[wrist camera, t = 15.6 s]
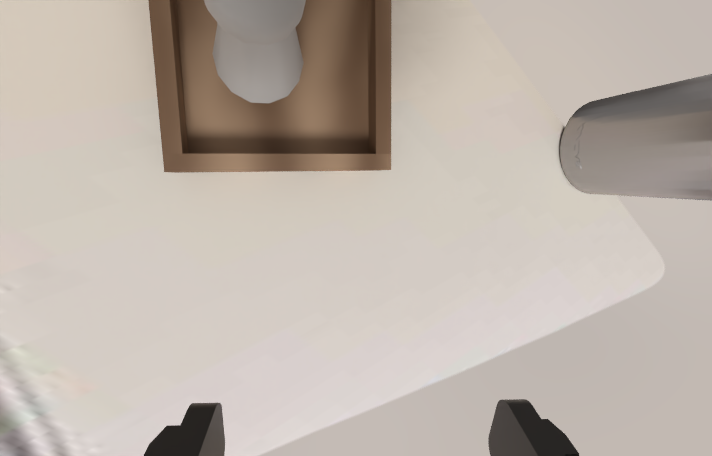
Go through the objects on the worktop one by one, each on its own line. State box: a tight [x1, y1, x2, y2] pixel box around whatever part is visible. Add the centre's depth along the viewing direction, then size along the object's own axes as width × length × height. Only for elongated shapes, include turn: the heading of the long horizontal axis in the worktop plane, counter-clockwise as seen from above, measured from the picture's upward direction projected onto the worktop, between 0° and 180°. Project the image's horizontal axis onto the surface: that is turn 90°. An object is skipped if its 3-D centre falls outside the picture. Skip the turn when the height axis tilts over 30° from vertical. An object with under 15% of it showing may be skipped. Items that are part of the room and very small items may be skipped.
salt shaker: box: [204, 0, 306, 103], centre depth 20 cm, size 6×6×13 cm
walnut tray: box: [149, 0, 391, 172], centre depth 26 cm, size 16×16×3 cm
